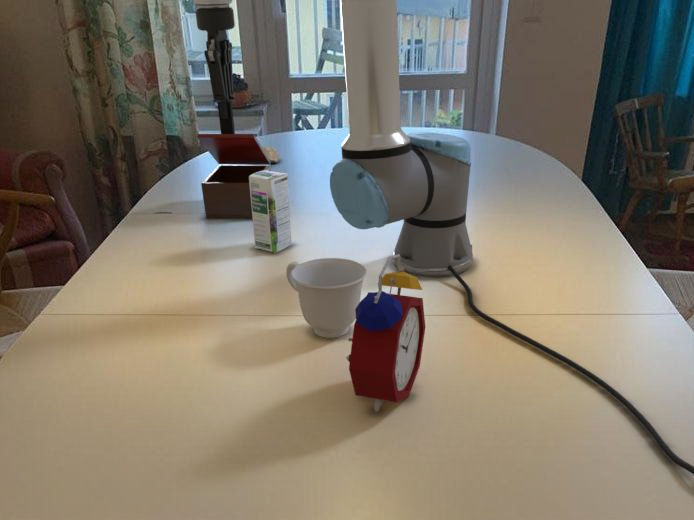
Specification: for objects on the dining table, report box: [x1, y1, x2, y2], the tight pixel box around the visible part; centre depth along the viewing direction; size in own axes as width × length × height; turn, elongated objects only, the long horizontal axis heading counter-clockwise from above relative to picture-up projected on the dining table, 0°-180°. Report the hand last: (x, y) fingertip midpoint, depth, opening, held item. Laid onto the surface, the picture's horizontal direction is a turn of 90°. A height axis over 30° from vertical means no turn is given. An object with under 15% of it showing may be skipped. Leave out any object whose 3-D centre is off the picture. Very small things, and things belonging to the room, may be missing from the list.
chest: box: [200, 164, 272, 220], centre depth 171 cm, size 16×13×8 cm
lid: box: [196, 133, 271, 165], centre depth 167 cm, size 16×13×1 cm
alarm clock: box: [342, 254, 426, 413], centre depth 99 cm, size 15×9×20 cm, turn 158°
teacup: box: [285, 257, 368, 339], centre depth 119 cm, size 12×15×10 cm
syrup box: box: [249, 170, 293, 254], centre depth 148 cm, size 6×6×14 cm
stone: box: [261, 145, 280, 163], centre depth 205 cm, size 8×10×4 cm
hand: (228, 134), depth 160 cm, fingers closed
